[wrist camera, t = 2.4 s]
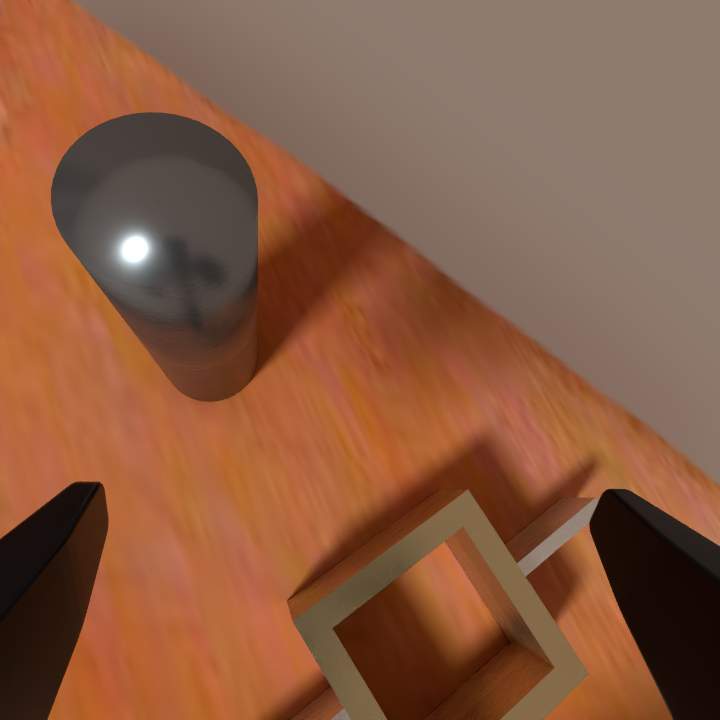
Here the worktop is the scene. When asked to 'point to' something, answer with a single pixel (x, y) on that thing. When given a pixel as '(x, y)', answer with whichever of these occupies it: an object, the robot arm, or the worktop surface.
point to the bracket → (492, 581)
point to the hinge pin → (169, 242)
